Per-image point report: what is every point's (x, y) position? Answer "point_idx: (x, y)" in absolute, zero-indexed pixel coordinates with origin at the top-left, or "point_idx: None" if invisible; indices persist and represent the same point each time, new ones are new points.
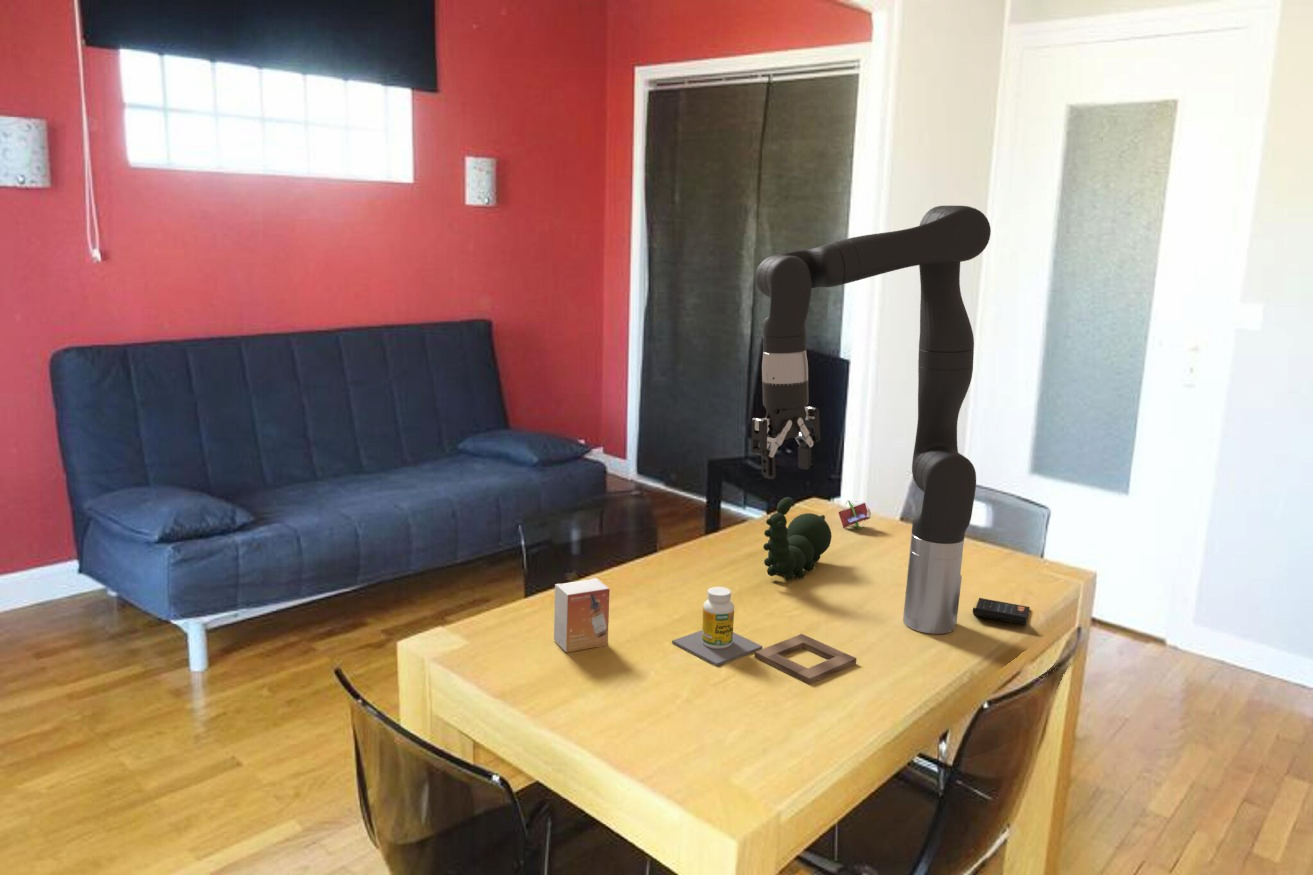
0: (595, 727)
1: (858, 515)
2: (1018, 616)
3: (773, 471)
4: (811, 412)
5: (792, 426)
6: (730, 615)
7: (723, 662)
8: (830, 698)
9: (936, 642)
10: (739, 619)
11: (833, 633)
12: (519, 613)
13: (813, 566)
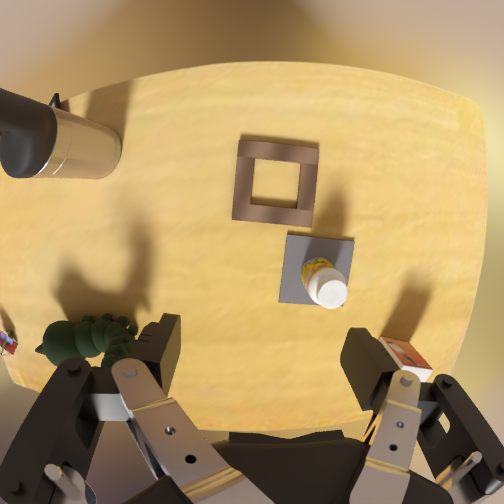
0: (470, 240)
1: (3, 339)
2: (55, 98)
3: (368, 339)
4: (46, 502)
5: (282, 495)
6: (327, 266)
7: (345, 240)
8: (325, 120)
9: (130, 120)
10: (242, 298)
11: (190, 203)
12: (370, 410)
13: (87, 316)
